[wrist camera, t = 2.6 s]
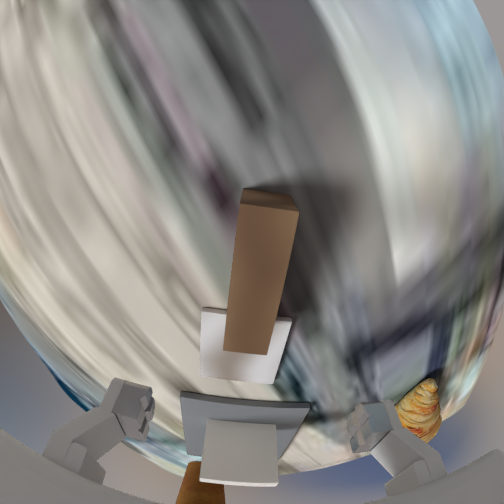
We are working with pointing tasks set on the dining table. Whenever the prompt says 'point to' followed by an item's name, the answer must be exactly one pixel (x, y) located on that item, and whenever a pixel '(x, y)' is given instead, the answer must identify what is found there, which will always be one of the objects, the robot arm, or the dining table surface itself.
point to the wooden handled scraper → (252, 294)
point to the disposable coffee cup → (199, 488)
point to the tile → (240, 454)
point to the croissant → (421, 410)
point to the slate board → (238, 417)
